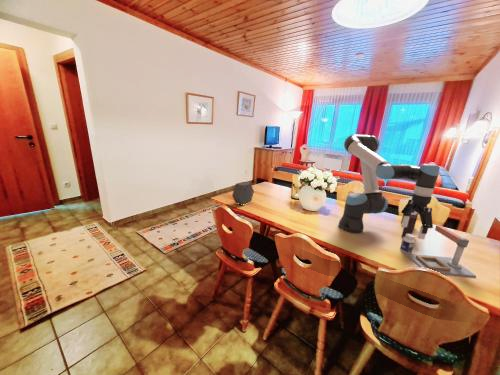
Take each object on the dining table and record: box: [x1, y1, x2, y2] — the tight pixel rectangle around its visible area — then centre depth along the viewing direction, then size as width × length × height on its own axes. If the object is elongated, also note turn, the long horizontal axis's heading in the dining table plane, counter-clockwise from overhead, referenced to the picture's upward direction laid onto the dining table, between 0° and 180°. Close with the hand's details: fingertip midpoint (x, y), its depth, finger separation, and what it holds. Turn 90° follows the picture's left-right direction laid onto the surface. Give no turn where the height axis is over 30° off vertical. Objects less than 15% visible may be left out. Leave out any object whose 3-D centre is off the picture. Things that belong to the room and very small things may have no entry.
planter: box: [231, 181, 255, 206], centre depth 171 cm, size 17×8×21 cm
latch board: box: [406, 245, 477, 278], centre depth 101 cm, size 22×14×12 cm, turn 85°
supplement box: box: [401, 212, 419, 238], centre depth 129 cm, size 9×5×16 cm, turn 137°
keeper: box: [434, 224, 470, 248], centre depth 105 cm, size 4×17×3 cm, turn 175°
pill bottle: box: [399, 233, 416, 254], centre depth 113 cm, size 5×5×10 cm
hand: (411, 232), depth 110 cm, fingers open, 13 cm apart
